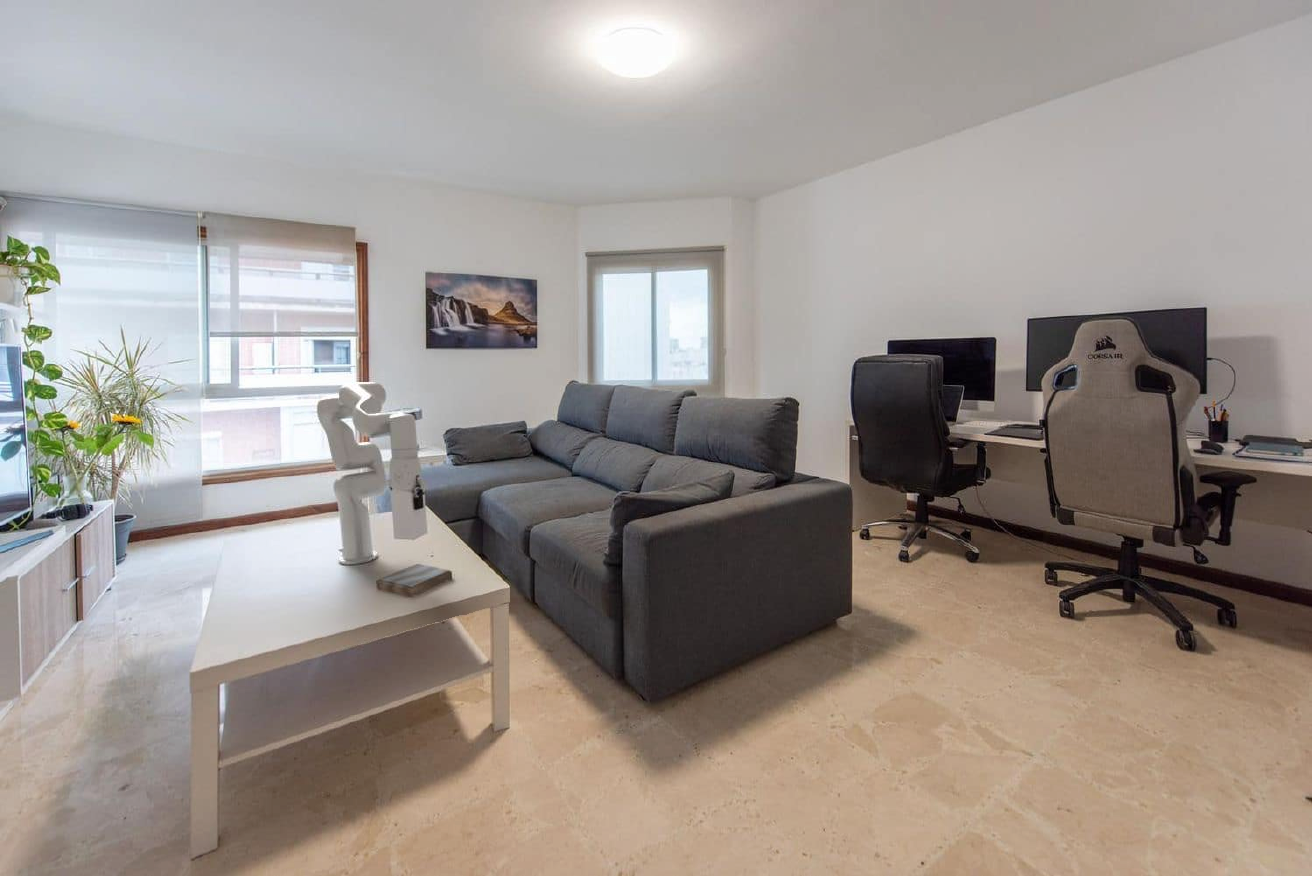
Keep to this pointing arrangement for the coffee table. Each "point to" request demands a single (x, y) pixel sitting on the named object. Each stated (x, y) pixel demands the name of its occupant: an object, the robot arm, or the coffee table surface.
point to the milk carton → (407, 515)
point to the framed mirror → (414, 580)
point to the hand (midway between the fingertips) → (409, 507)
